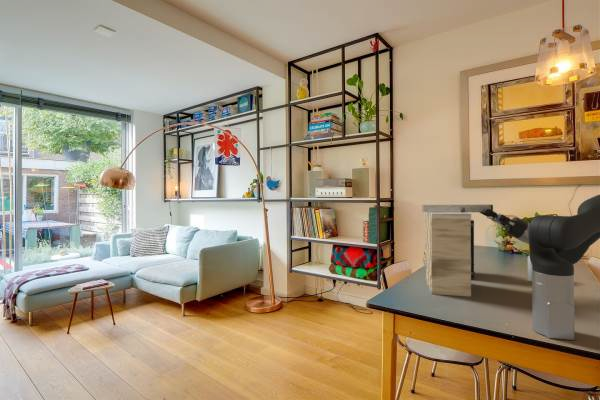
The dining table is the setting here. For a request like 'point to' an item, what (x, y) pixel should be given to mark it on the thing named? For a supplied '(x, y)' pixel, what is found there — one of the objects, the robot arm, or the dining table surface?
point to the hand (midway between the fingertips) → (482, 210)
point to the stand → (448, 252)
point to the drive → (456, 208)
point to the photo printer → (529, 269)
